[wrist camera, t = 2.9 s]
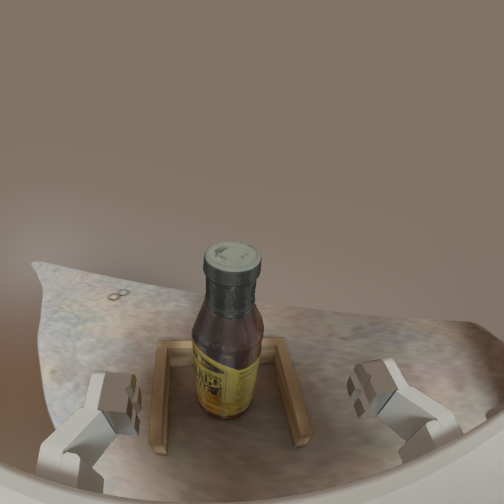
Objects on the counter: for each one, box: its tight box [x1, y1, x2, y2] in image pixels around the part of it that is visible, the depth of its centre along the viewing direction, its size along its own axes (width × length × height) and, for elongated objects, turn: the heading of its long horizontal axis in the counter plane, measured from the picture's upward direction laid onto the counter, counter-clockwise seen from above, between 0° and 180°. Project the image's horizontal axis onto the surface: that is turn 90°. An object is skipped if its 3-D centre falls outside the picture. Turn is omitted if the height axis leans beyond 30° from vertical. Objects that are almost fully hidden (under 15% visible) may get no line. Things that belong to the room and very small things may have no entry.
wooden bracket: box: [149, 337, 313, 455], centre depth 30 cm, size 16×14×4 cm
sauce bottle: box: [192, 241, 264, 419], centre depth 26 cm, size 6×6×20 cm
